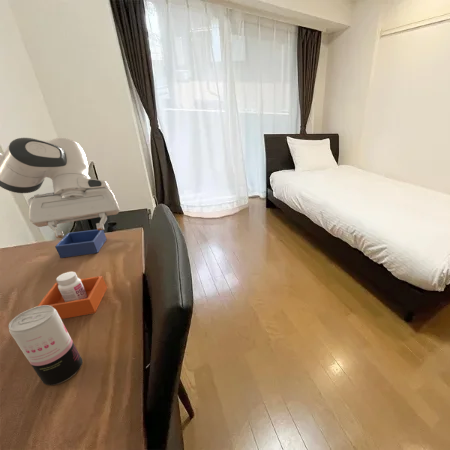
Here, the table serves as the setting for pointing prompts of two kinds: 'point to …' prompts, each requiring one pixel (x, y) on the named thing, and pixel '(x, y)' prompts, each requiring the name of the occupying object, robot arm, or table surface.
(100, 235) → the blue bin
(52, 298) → the terracotta bin
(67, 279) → the pill bottle
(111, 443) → the table surface
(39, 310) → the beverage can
